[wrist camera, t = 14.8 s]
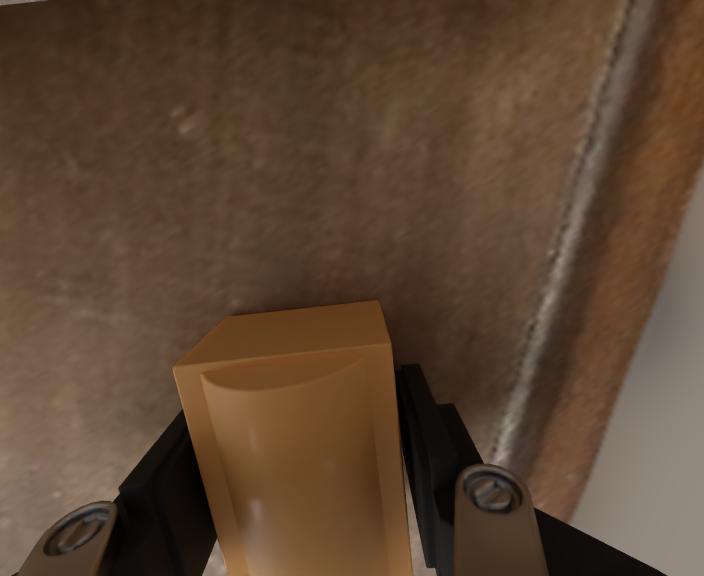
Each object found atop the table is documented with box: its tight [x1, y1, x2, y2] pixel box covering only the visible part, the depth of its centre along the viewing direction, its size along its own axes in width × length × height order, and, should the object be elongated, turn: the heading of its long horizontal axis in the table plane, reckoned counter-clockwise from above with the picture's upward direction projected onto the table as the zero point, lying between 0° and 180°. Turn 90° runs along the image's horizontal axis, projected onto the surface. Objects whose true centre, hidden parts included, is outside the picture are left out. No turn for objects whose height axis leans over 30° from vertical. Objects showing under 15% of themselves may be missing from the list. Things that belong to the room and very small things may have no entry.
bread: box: [172, 300, 413, 576], centre depth 9 cm, size 7×5×4 cm, turn 7°
